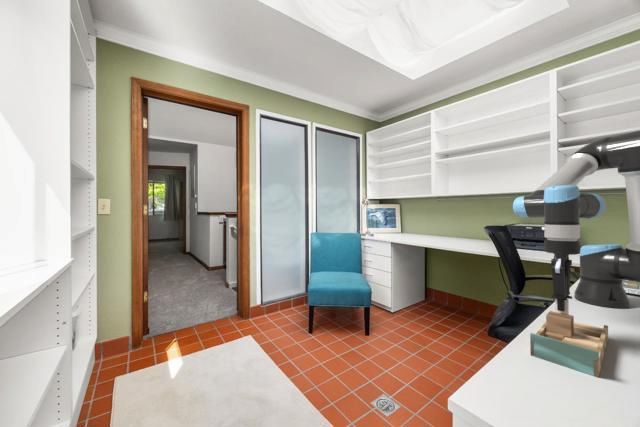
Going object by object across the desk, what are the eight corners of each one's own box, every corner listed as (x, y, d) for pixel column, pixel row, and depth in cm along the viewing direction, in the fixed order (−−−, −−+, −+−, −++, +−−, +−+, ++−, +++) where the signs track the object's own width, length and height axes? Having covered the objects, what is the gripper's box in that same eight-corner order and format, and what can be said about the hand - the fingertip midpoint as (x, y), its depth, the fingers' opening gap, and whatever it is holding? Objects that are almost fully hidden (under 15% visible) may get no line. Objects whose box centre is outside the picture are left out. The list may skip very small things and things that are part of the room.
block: (550, 326, 77) (550, 310, 77) (573, 331, 73) (573, 315, 73) (546, 331, 74) (546, 315, 74) (570, 337, 70) (570, 320, 70)
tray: (552, 325, 84) (552, 308, 84) (608, 339, 75) (608, 319, 75) (530, 355, 67) (530, 333, 67) (598, 377, 58) (598, 352, 58)
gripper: (549, 236, 83) (549, 311, 83) (539, 240, 74) (539, 323, 74) (582, 238, 77) (583, 319, 77) (575, 242, 69) (576, 332, 69)
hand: (561, 320), depth 76 cm, fingers closed
